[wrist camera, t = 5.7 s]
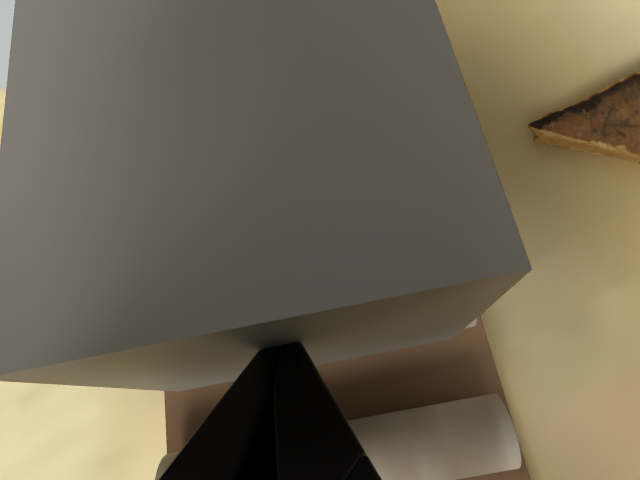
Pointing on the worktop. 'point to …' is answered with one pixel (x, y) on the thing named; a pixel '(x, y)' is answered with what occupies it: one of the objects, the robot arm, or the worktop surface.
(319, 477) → the robot arm
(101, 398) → the worktop surface
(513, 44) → the worktop surface
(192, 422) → the roller bed
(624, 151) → the shard
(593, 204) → the worktop surface
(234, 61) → the gray rectangular block
